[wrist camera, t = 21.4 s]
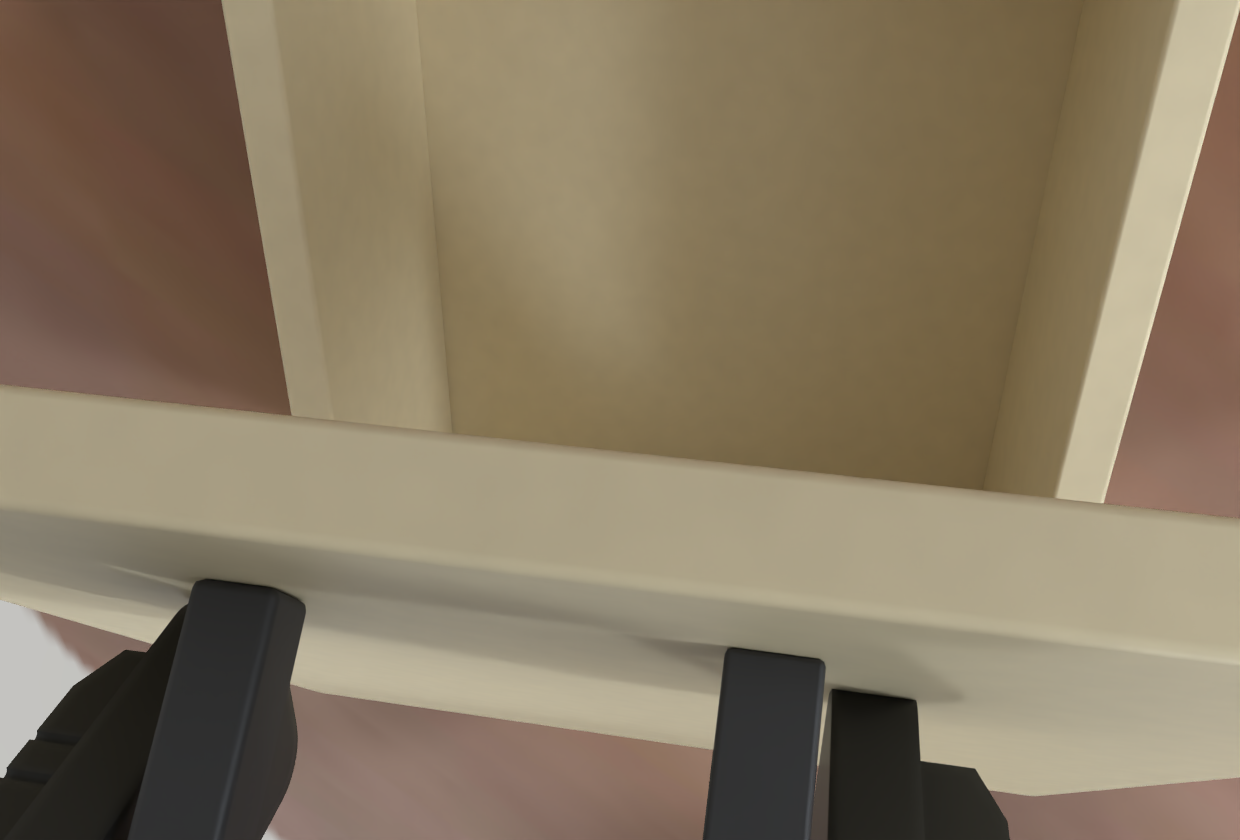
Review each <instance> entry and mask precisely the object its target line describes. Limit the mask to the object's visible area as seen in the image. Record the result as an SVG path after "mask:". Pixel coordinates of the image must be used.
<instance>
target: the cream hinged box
mask: <svg viewBox="0 0 1240 840" xmlns="http://www.w3.org/2000/svg"><path fill="white" fill-rule="evenodd" d="M221 1H222V7H223V13H224V18H225V24H226V30H227V36H228V42H229V48H230V54H231V60H232V66H233V72H234V78H235V83H236V89H237V95H238V101H239V107H240V113H241V119H242V125H243V131H244V137H245V143H246V148H247V154H248V160H249V166H250V172H251V178H252V184H253V190H254V196H255V202H256V208H257V213H258V219H259V225H260V231H261V237H262V243H263V249H264V255H265V261H266V267H267V272H268V278H269V284H270V290H271V296H272V302H273V308H274V314H275V320H276V326H277V332H278V337H279V343H280V349H281V355H282V361H283V367H284V373H285V379H286V385H287V391H288V397H289V402H290V408H291V414H292V416H298V417H308V418H317V419H326V420H335V421H345V422H354V423H363V424H372V425H382V426H391V427H400V428H410V429H419V430H428V431H437V432H447V433H456V434H465V435H474V436H484V437H493V438H502V439H511V440H521V441H530V442H539V443H548V444H558V445H567V446H576V447H585V448H595V449H604V450H613V451H622V452H632V453H641V454H650V455H659V456H669V457H678V458H687V459H696V460H706V461H715V462H724V463H733V464H743V465H752V466H761V467H770V468H780V469H789V470H798V471H807V472H817V473H826V474H835V475H844V476H854V477H863V478H872V479H882V480H891V481H900V482H909V483H919V484H928V485H937V486H946V487H956V488H965V489H974V490H983V491H993V492H1002V493H1011V494H1020V495H1030V496H1039V497H1048V498H1057V499H1067V500H1076V501H1085V502H1094V503H1104V499H1105V495H1106V492H1107V488H1108V484H1109V481H1110V477H1111V474H1112V470H1113V466H1114V463H1115V459H1116V455H1117V452H1118V448H1119V445H1120V441H1121V437H1122V434H1123V430H1124V426H1125V423H1126V419H1127V416H1128V412H1129V408H1130V405H1131V401H1132V397H1133V394H1134V390H1135V387H1136V383H1137V379H1138V376H1139V372H1140V368H1141V365H1142V361H1143V358H1144V354H1145V350H1146V347H1147V343H1148V339H1149V336H1150V332H1151V329H1152V325H1153V321H1154V318H1155V314H1156V310H1157V307H1158V303H1159V300H1160V296H1161V292H1162V289H1163V285H1164V281H1165V278H1166V274H1167V271H1168V267H1169V263H1170V260H1171V256H1172V252H1173V249H1174V245H1175V242H1176V238H1177V234H1178V231H1179V227H1180V224H1181V220H1182V216H1183V213H1184V209H1185V205H1186V202H1187V198H1188V195H1189V191H1190V187H1191V184H1192V180H1193V176H1194V173H1195V169H1196V166H1197V162H1198V158H1199V155H1200V151H1201V147H1202V144H1203V140H1204V137H1205V133H1206V129H1207V126H1208V122H1209V118H1210V115H1211V111H1212V108H1213V104H1214V100H1215V97H1216V93H1217V89H1218V86H1219V82H1220V79H1221V75H1222V71H1223V68H1224V64H1225V60H1226V57H1227V53H1228V50H1229V46H1230V42H1231V39H1232V35H1233V31H1234V28H1235V24H1236V21H1237V17H1238V13H1239V10H1240V0H221Z"/></svg>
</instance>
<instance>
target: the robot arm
mask: <svg viewBox="0 0 1240 840" xmlns="http://www.w3.org/2000/svg"><path fill="white" fill-rule="evenodd" d="M187 606H188V604H187V605H185V606H184V607H182V608H181V609H180V610H179V611H178V612H177V613H176V615H175V616H174V617H173V618H172V620H171V621H170V622H169V624H168V625H167V626H166V628H165V629H164V630H163V632H162V633H161V634H160V635H159V637H158V638H157V639H156V641H155V642H154V643H153V645H152V646H151V647H150V649H149V650H148V651H147V652H146V653H145V652H138V651H131V650H125V651H123V652H122V653H120V654H119V655H117V656H116V657H115V658H113V659H112V660H110V661H109V662H107V663H106V664H104V665H103V666H101V667H100V668H99V669H97V670H96V671H94V672H93V673H91V674H90V675H88V676H87V677H85V678H84V679H83V680H81V681H80V682H78V683H77V684H75V685H74V686H73V687H72V688H71V689H70V691H69V692H68V693H67V694H66V696H65V697H64V698H63V699H62V700H61V702H60V703H59V704H58V705H57V707H56V708H55V709H54V710H53V712H52V713H51V714H50V715H49V716H48V718H47V719H46V720H45V721H44V723H43V724H42V725H41V726H40V727H39V729H38V730H37V736H36V739H35V740H29V741H28V742H27V743H26V745H25V746H24V747H23V748H22V750H21V751H20V752H19V753H18V755H17V756H16V757H15V758H14V759H13V761H12V762H11V763H10V764H9V766H8V767H7V773H6V775H5V777H4V778H0V840H127V839H128V835H129V831H130V827H131V823H132V819H133V815H134V812H135V808H136V804H137V800H138V796H139V792H140V788H141V784H142V781H143V777H144V773H145V769H146V765H147V761H148V757H149V753H150V750H151V746H152V742H153V738H154V734H155V730H156V726H157V722H158V718H159V715H160V711H161V707H162V703H163V699H164V695H165V691H166V687H167V684H168V680H169V676H170V672H171V668H172V664H173V660H174V656H175V653H176V649H177V645H178V641H179V637H180V633H181V629H182V625H183V621H184V618H185V614H186V610H187ZM297 741H298V736H297V725H296V719H295V713H294V708H293V702H292V696H291V690H290V685H289V690H288V694H287V699H286V703H285V708H284V712H283V716H282V721H281V725H280V730H279V734H278V738H277V743H276V747H275V752H274V756H273V760H272V765H271V769H270V774H269V778H268V782H267V787H266V791H265V796H264V800H263V805H262V809H261V813H260V818H259V822H258V827H257V831H256V835H255V840H261V839H262V837H263V835H264V833H265V832H266V830H267V828H268V826H269V824H270V822H271V820H272V818H273V817H274V815H275V813H276V811H277V809H278V807H279V805H280V804H281V802H282V800H283V798H284V796H285V794H286V791H287V789H288V786H289V783H290V780H291V777H292V773H293V769H294V765H295V760H296V753H297ZM810 840H1010V838H1009V830H1008V823H1007V820H1006V818H1005V817H1004V815H1003V813H1002V812H1001V810H1000V809H999V807H998V805H997V804H996V802H995V800H994V799H993V797H992V795H991V794H990V792H989V790H988V789H987V787H986V785H985V784H984V782H983V781H982V779H981V777H980V776H979V774H978V772H977V771H976V769H975V768H968V767H961V766H954V765H946V764H939V763H932V762H925V761H921V759H920V740H919V722H918V707H917V701H916V700H911V699H904V698H896V697H889V696H882V695H874V694H867V693H859V692H852V691H845V690H837V689H831V691H830V693H829V697H828V703H827V710H826V718H825V725H824V732H823V739H822V746H821V754H820V761H819V768H818V775H817V783H816V790H815V797H814V804H813V815H812V826H811V836H810Z"/></svg>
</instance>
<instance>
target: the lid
mask: <svg viewBox="0 0 1240 840" xmlns="http://www.w3.org/2000/svg"><path fill="white" fill-rule="evenodd" d="M0 600H3V601H6V602H10V603H13V604H17V605H20V606H23V607H27V608H30V609H34V610H37V611H41V612H44V613H48V614H51V615H54V616H58V617H61V618H65V619H68V620H72V621H75V622H79V623H82V624H85V625H89V626H92V627H96V628H99V629H103V630H106V631H109V632H113V633H116V634H120V635H123V636H127V637H130V638H134V639H137V640H140V641H144V642H147V643H151V644H153V643H154V642H155V641H156V639H157V638H158V637H159V635H160V634H161V633H162V632H163V630H164V629H165V628H166V626H167V625H168V624H169V622H170V621H171V620H172V618H173V617H174V616H175V615H176V613H177V612H178V611H179V610H180V609H181V608H182V607H184V606H185V605H187V604H188V606H187V610H186V614H185V618H184V621H183V625H182V629H181V633H180V637H179V641H178V645H177V649H176V653H175V656H174V660H173V664H172V668H171V672H170V676H169V680H168V684H167V687H166V691H165V695H164V699H163V703H162V707H161V711H160V715H159V718H158V722H157V726H156V730H155V734H154V738H153V742H152V746H151V750H150V753H149V757H148V761H147V765H146V769H145V773H144V777H143V781H142V784H141V788H140V792H139V796H138V800H137V804H136V808H135V812H134V815H133V819H132V823H131V827H130V831H129V835H128V839H127V840H255V835H256V831H257V827H258V822H259V818H260V813H261V809H262V805H263V800H264V796H265V791H266V787H267V782H268V778H269V774H270V769H271V765H272V760H273V756H274V752H275V747H276V743H277V738H278V734H279V730H280V725H281V721H282V716H283V712H284V708H285V703H286V699H287V694H288V690H289V685H290V684H292V685H295V686H299V687H302V688H306V689H309V690H313V691H316V692H319V693H326V694H332V695H339V696H346V697H353V698H360V699H367V700H374V701H381V702H387V703H394V704H401V705H408V706H415V707H422V708H429V709H436V710H442V711H449V712H456V713H463V714H470V715H477V716H484V717H491V718H497V719H504V720H511V721H518V722H525V723H532V724H539V725H546V726H552V727H559V728H566V729H573V730H580V731H587V732H594V733H601V734H607V735H614V736H621V737H628V738H635V739H642V740H649V741H656V742H662V743H669V744H676V745H683V746H690V747H697V748H704V749H711V750H713V756H712V765H711V773H710V782H709V790H708V799H707V807H706V816H705V824H704V833H703V840H810V836H811V826H812V815H813V804H814V793H815V782H816V771H817V765H819V761H820V754H821V746H822V739H823V732H824V725H825V718H826V710H827V703H828V697H829V693H830V691H831V689H837V690H845V691H852V692H859V693H867V694H874V695H882V696H889V697H896V698H904V699H911V700H916V701H917V707H918V722H919V740H920V759H921V761H925V762H932V763H939V764H946V765H954V766H961V767H968V768H975V769H976V771H977V772H978V774H979V776H980V777H981V779H982V781H983V782H984V784H985V785H986V787H987V789H988V790H992V791H999V792H1006V793H1013V794H1020V795H1027V796H1042V795H1053V794H1064V793H1075V792H1086V791H1097V790H1108V789H1119V788H1130V787H1141V786H1151V785H1162V784H1173V783H1184V782H1195V781H1206V780H1217V779H1228V778H1239V777H1240V518H1233V517H1224V516H1215V515H1205V514H1196V513H1187V512H1178V511H1168V510H1159V509H1150V508H1141V507H1131V506H1122V505H1113V504H1104V503H1094V502H1085V501H1076V500H1067V499H1057V498H1048V497H1039V496H1030V495H1020V494H1011V493H1002V492H993V491H983V490H974V489H965V488H956V487H946V486H937V485H928V484H919V483H909V482H900V481H891V480H882V479H872V478H863V477H854V476H844V475H835V474H826V473H817V472H807V471H798V470H789V469H780V468H770V467H761V466H752V465H743V464H733V463H724V462H715V461H706V460H696V459H687V458H678V457H669V456H659V455H650V454H641V453H632V452H622V451H613V450H604V449H595V448H585V447H576V446H567V445H558V444H548V443H539V442H530V441H521V440H511V439H502V438H493V437H484V436H474V435H465V434H456V433H447V432H437V431H428V430H419V429H410V428H400V427H391V426H382V425H372V424H363V423H354V422H345V421H335V420H326V419H317V418H308V417H298V416H289V415H280V414H271V413H261V412H252V411H243V410H234V409H224V408H215V407H206V406H197V405H187V404H178V403H169V402H160V401H150V400H141V399H132V398H123V397H113V396H104V395H95V394H86V393H76V392H67V391H58V390H49V389H39V388H30V387H21V386H12V385H2V384H0Z"/></svg>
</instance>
